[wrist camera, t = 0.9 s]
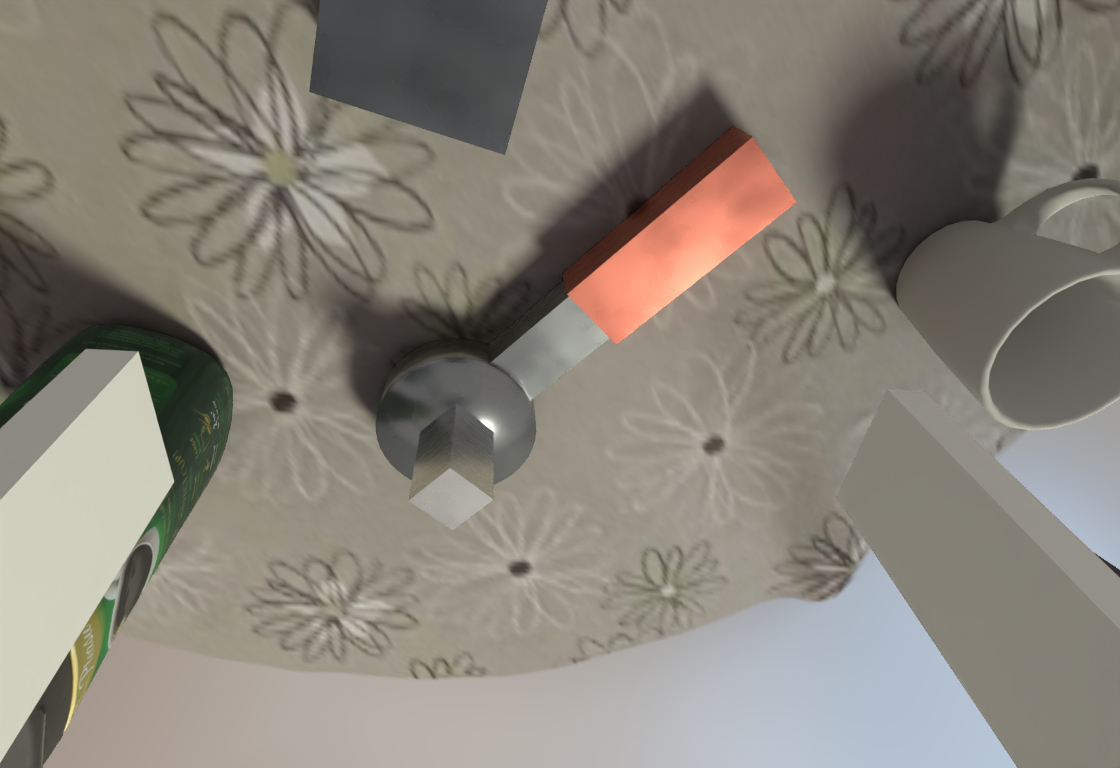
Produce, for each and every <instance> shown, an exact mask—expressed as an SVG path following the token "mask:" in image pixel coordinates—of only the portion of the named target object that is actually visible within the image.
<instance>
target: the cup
mask: <svg viewBox="0 0 1120 768" xmlns="http://www.w3.org/2000/svg"><path fill="white" fill-rule="evenodd" d="M1103 194H1105V195H1119V196H1120V182H1119V181H1116V180H1109V179H1095V178H1090V179H1083V180H1076V181H1070V182H1067V183H1064V184H1061V185H1058V186H1055V187H1052V188H1050V189H1047V190H1045V191H1043V192H1042V193H1040V194H1038V195H1037V196H1035V197H1033V198H1031V199H1030V200H1028V201H1026V202H1025V203H1023V204H1022V205H1020V206H1019V207H1017V208H1016V209H1014V210H1013V211H1012V212H1010V213H1009V214H1008V215H1007V216H1005V217H1004V218H1003V219H1001V220H999V221H996V222H993V223H986V222H981V221H977V220H974V221H961V222H958V223H954V224H951V225H948V226H945V227H944V228H942V229H940V230H938V231H936V232H935V233H933V234H931V235H930V236H929V237H927V238H926V239H925V240H924V241H923V242H921V243H920V244H919V245H918V246H917V247H916V248H915V250H914V251H913V252H912V253H911V254H910V256H909V257H908V258H907V260H906V262H905V264H904V265H903V267H902V269H901V271H900V274H899V278H898V281H897V285H896V298H897V301H898V304H899V307H900V309H901V310H902V311H903V313H904V314H905V315H906V316H907V318H908V319H909V320H910V322H911V323H912V324H913V325H914V327H915V328H916V329H917V330H918V332H919V333H920V334H921V335H922V337H923V338H924V339H925V340H926V342H927V343H928V344H929V345H930V347H931V348H932V349H933V350H934V352H935V353H936V354H937V355H938V356H939V358H940V359H941V360H942V361H943V362H944V364H945V365H946V366H947V367H948V368H949V369H950V370H951V371H952V373H953V374H954V375H955V376H956V377H957V378H958V379H959V380H960V382H961V383H962V384H963V385H964V386H965V387H966V388H967V389H968V391H969V392H970V393H971V394H972V395H973V396H974V397H975V398H976V400H977V401H978V402H979V403H980V404H981V405H982V406H983V407H984V409H985V410H986V411H987V412H988V413H989V414H990V415H991V416H992V418H993V419H995V420H997V421H999V422H1001V423H1003V424H1005V425H1007V426H1008V427H1013V428H1019V429H1025V430H1044V429H1054V428H1058V427H1061V426H1065V425H1068V424H1072V423H1076V422H1078V421H1080V420H1082V419H1084V418H1087V417H1089V416H1091V415H1093V414H1095V413H1098V412H1100V411H1101V410H1103V409H1104V408H1106V407H1107V406H1109V405H1110V404H1112V403H1114V402H1115V401H1117V400H1118V399H1120V243H1119V244H1117V245H1116V246H1114V247H1113V248H1110V249H1108V250H1106V251H1104V252H1102V253H1097V252H1093V251H1090V250H1087V249H1083V248H1080V247H1077V246H1073V245H1070V244H1067V243H1063V242H1060V241H1056V240H1052V239H1048V238H1045V237H1041V236H1037V235H1036V232H1037V231H1038V229H1039V228H1040V226H1041V225H1042V224H1043V223H1044V222H1045V221H1046V220H1047V219H1048V218H1049V217H1050V216H1051V215H1053V214H1054V213H1056V212H1057V211H1059V210H1060V209H1062V208H1064V207H1065V206H1067V205H1069V204H1072V203H1074V202H1076V201H1079V200H1081V199H1083V198H1087V197H1092V196H1098V195H1103Z"/></svg>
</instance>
